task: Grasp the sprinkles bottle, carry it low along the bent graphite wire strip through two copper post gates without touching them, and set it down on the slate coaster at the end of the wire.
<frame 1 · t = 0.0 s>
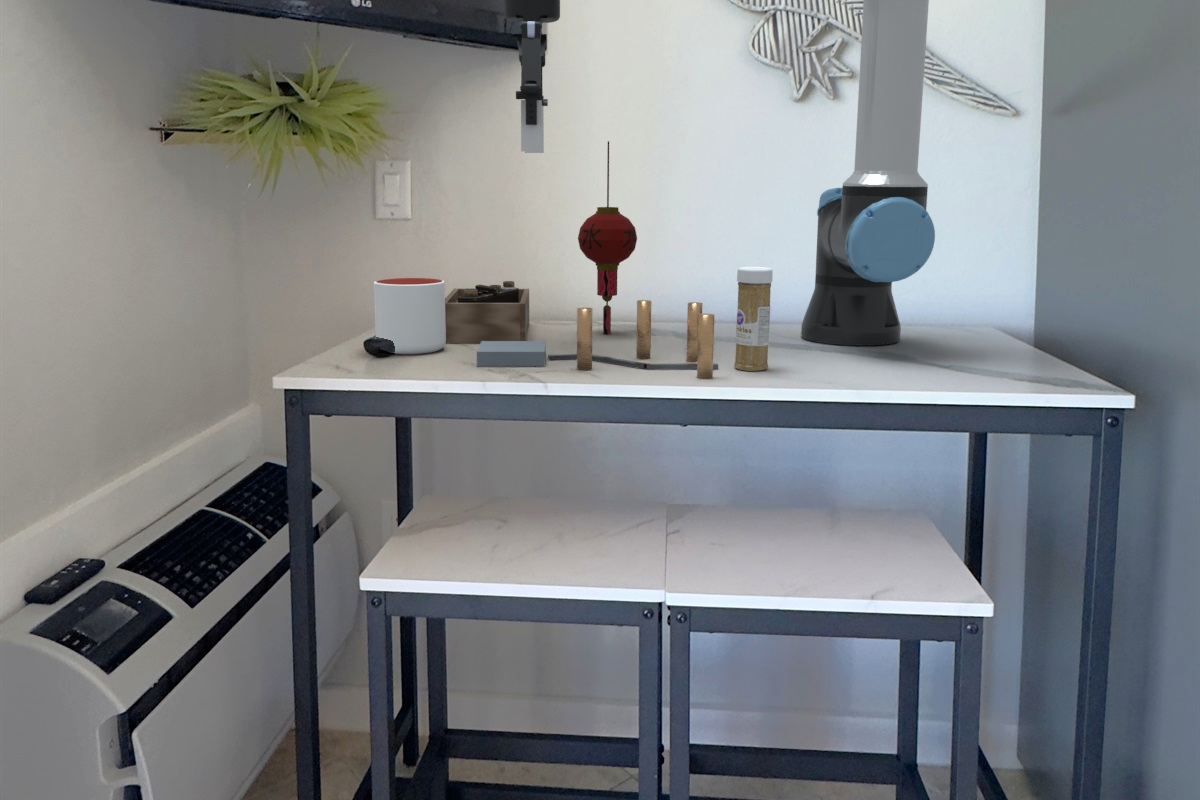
hand: (532, 152, 151), 28 cm above the table, fingers open, 13 cm apart
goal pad: (512, 360, 150), on the table
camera: (483, 335, 174), resting in camera corral
camera corral: (488, 333, 175), on the table
sprinkles bottle: (751, 370, 145), on the table
lantern: (606, 334, 175), on the table
cup: (411, 351, 158), on the table
wire course: (850, 338, 171), on the table
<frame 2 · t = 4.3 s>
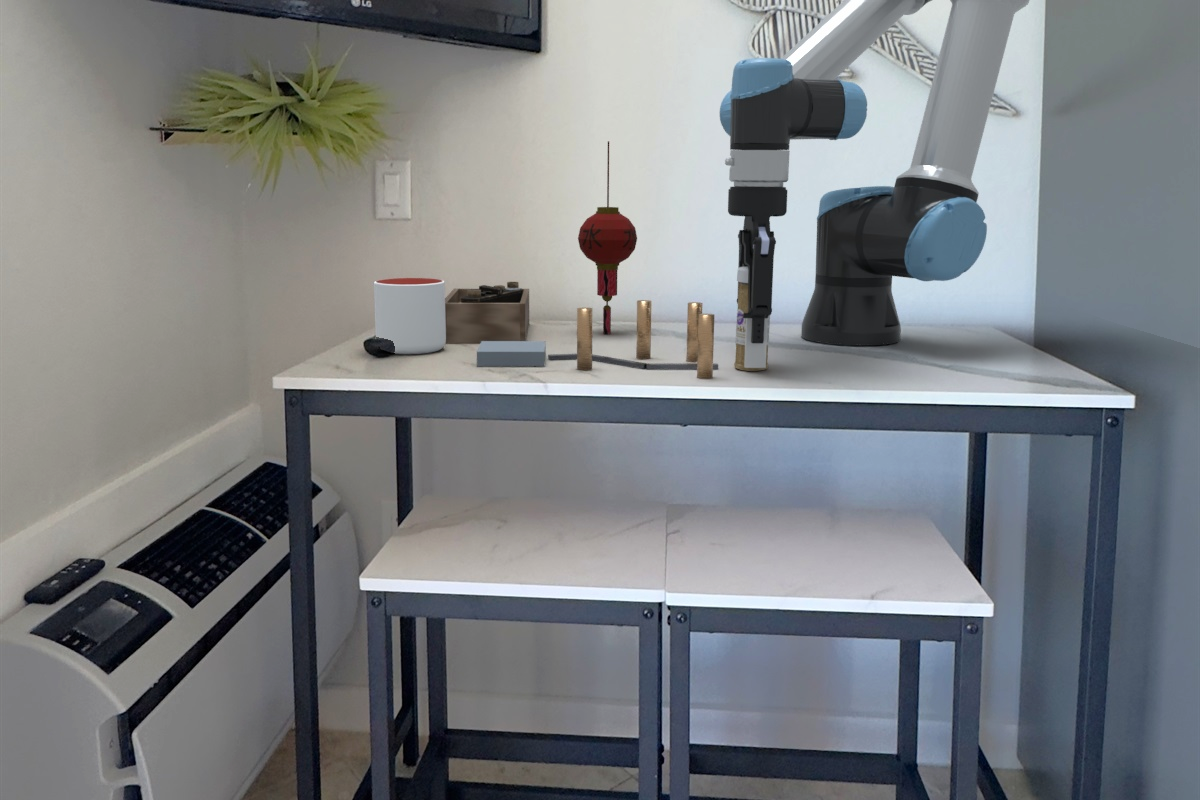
hand: (751, 363, 145), 1 cm above the table, fingers closed on sprinkles bottle, 4 cm apart
sprinkles bottle: (751, 370, 145), on the table, touching gripper
everything else where it was.
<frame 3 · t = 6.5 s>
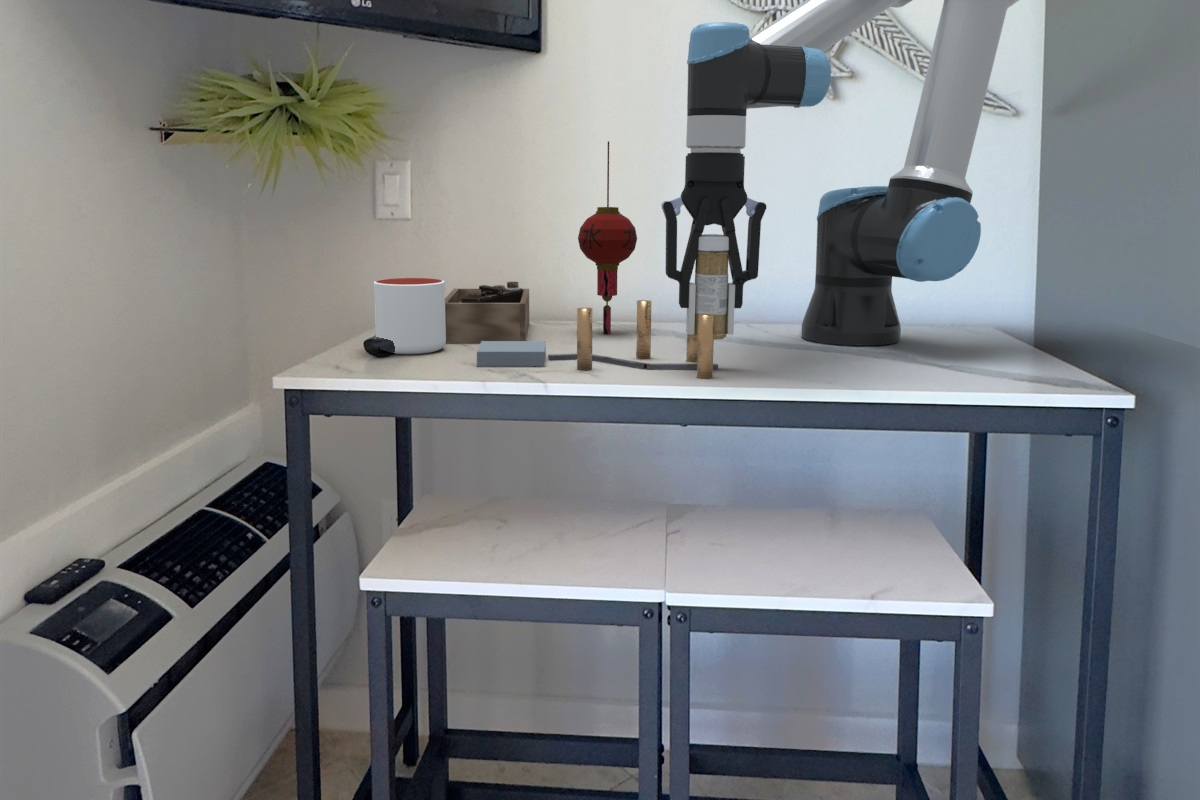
hand: (709, 332, 144), 5 cm above the table, fingers closed on sprinkles bottle, 4 cm apart
sprinkles bottle: (709, 339, 144), point 4 cm above the table, touching gripper
everything else where it was.
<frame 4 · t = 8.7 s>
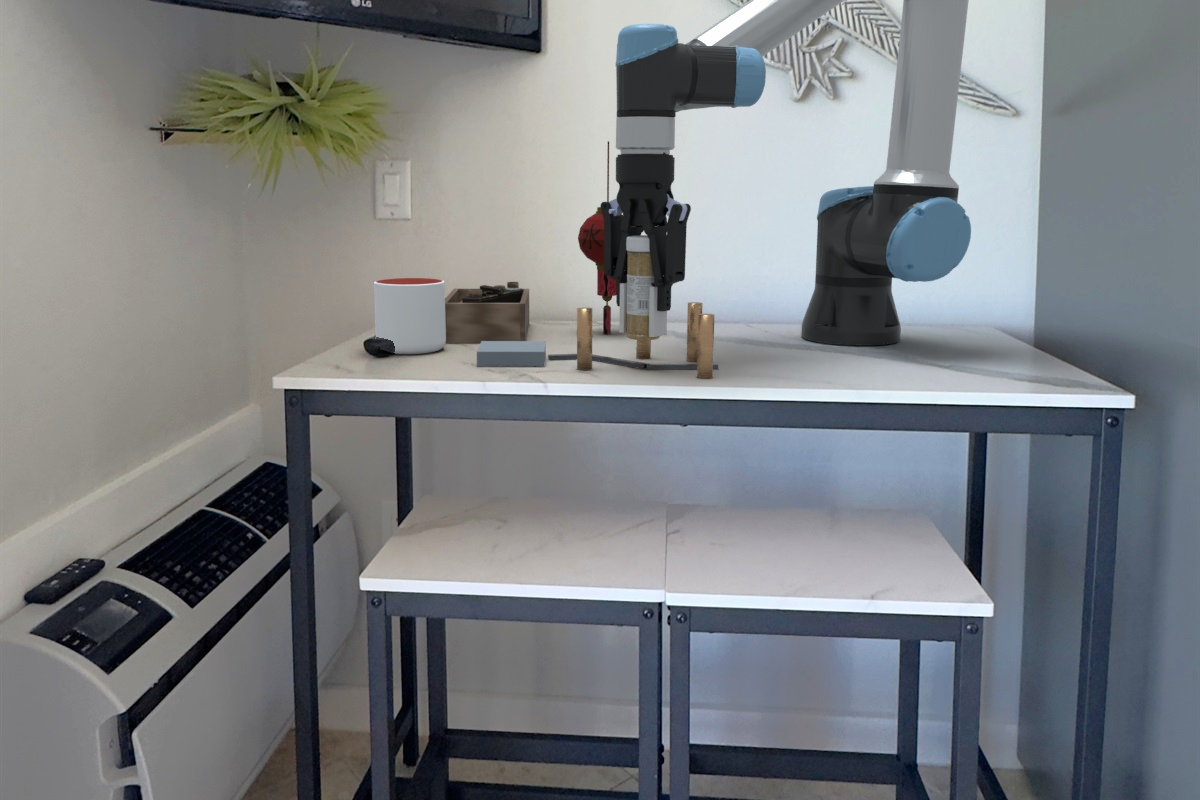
hand: (642, 333, 144), 5 cm above the table, fingers closed on sprinkles bottle, 4 cm apart
sprinkles bottle: (642, 339, 144), point 4 cm above the table, touching gripper
everything else where it was.
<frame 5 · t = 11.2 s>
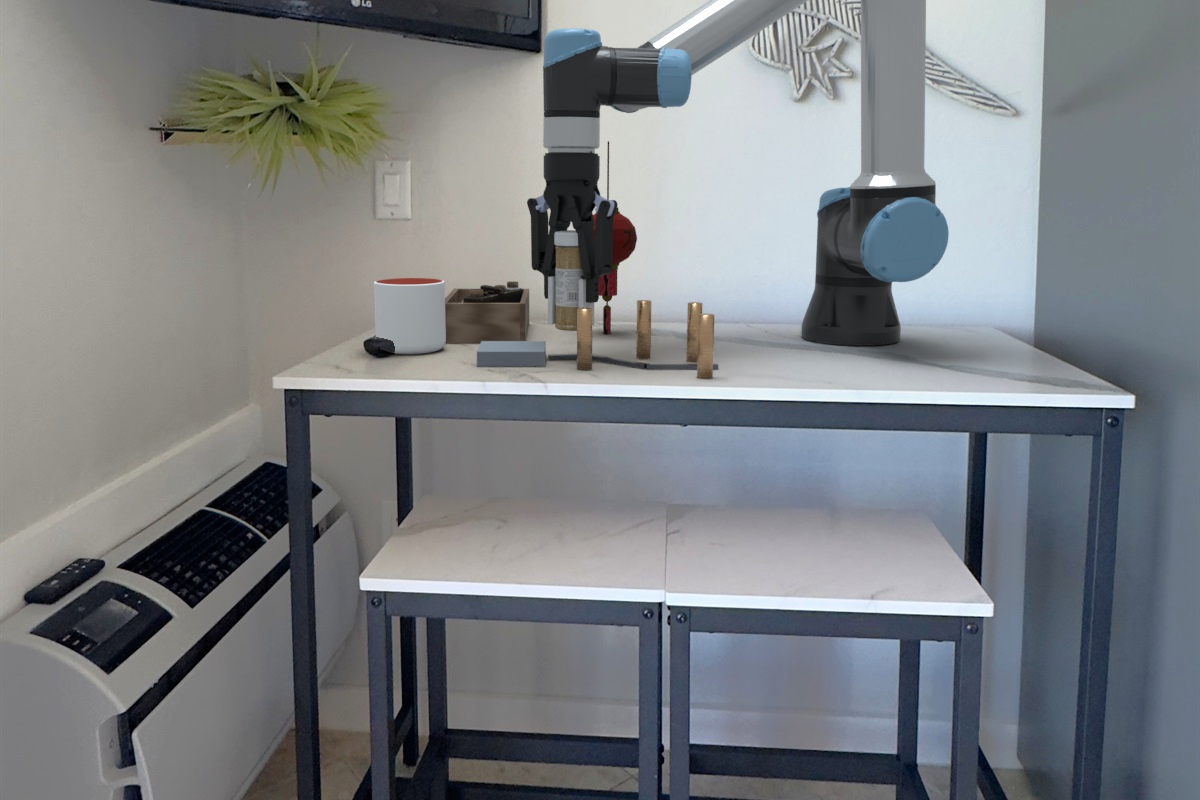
hand: (571, 324, 151), 5 cm above the table, fingers closed on sprinkles bottle, 4 cm apart
sprinkles bottle: (570, 330, 151), point 4 cm above the table, touching gripper
everything else where it was.
when the fingers open (4 cm above the table, at t = 13.2 s): sprinkles bottle drops 1 cm, resting on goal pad.
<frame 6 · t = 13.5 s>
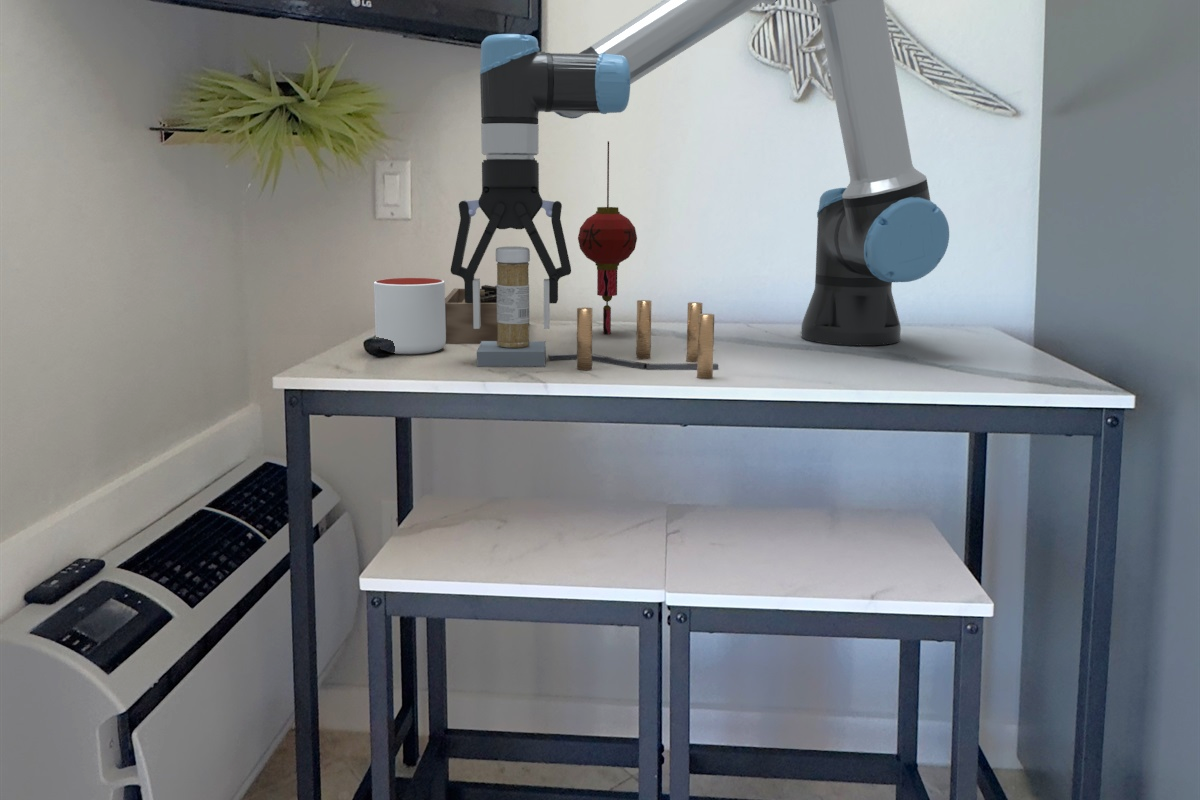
hand: (511, 327, 149), 5 cm above the table, fingers open, 9 cm apart
sprinkles bottle: (513, 347, 149), point 2 cm above the table, touching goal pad
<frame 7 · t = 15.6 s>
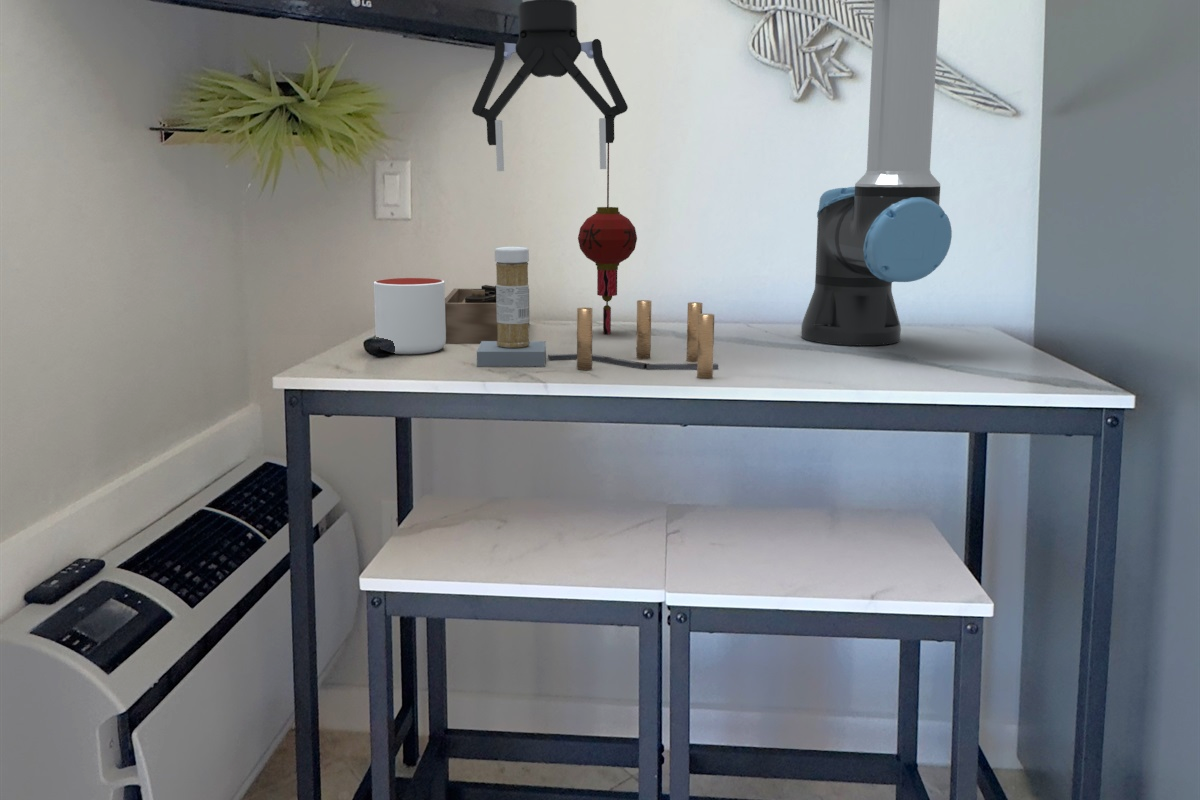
hand: (551, 170, 145), 26 cm above the table, fingers open, 13 cm apart
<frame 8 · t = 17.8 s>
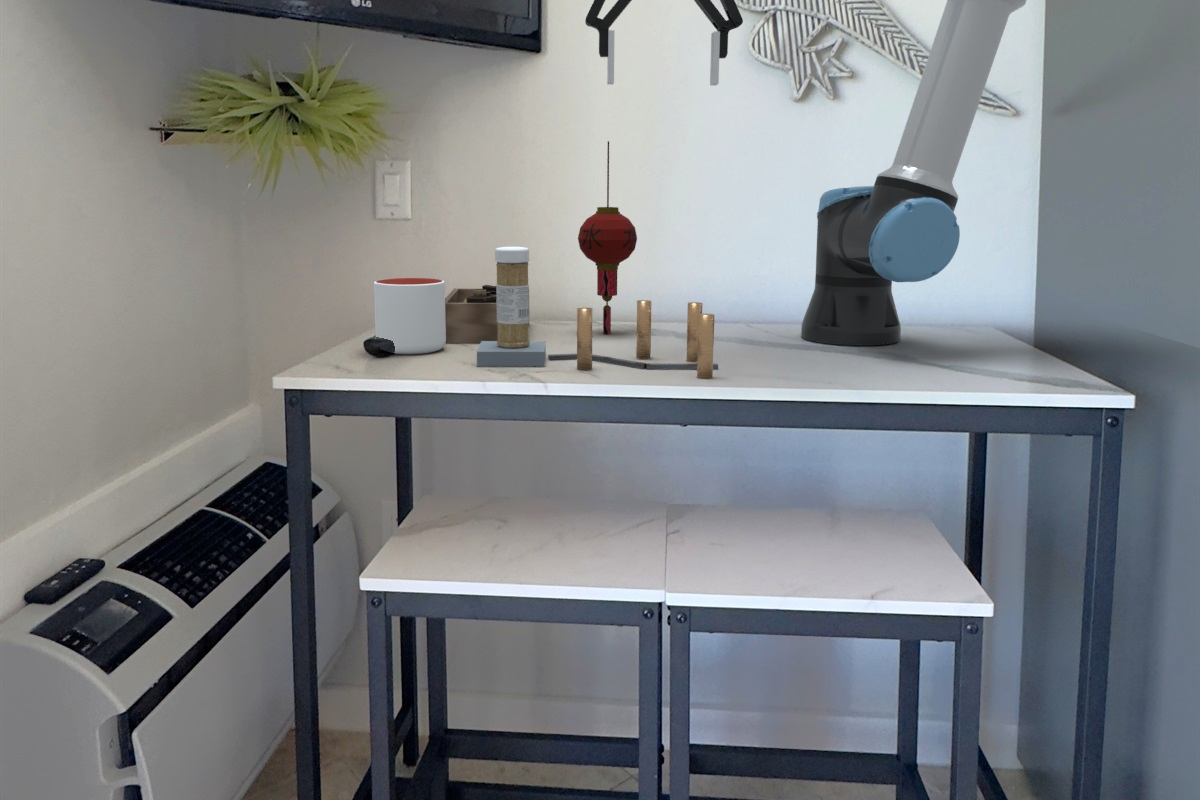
hand: (662, 84, 143), 37 cm above the table, fingers open, 13 cm apart
at the end: sprinkles bottle 0.1 cm from the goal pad (horizontally); sprinkles bottle tilted 0°; sprinkles bottle touching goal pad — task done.
